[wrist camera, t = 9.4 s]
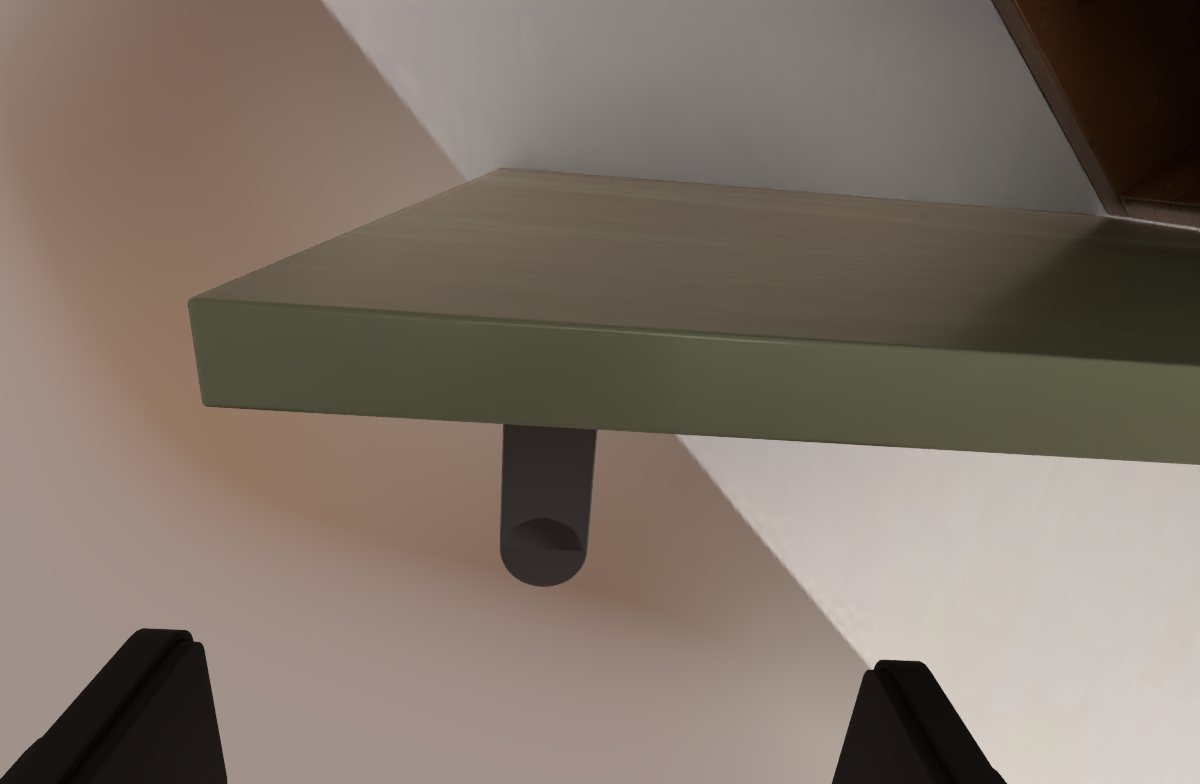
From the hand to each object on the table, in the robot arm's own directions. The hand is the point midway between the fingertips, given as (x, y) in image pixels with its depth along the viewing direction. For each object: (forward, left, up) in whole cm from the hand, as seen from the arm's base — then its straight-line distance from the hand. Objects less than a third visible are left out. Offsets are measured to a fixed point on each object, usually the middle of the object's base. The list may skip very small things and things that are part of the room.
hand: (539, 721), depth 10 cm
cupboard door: (-9, +5, -22) cm, 25 cm away
